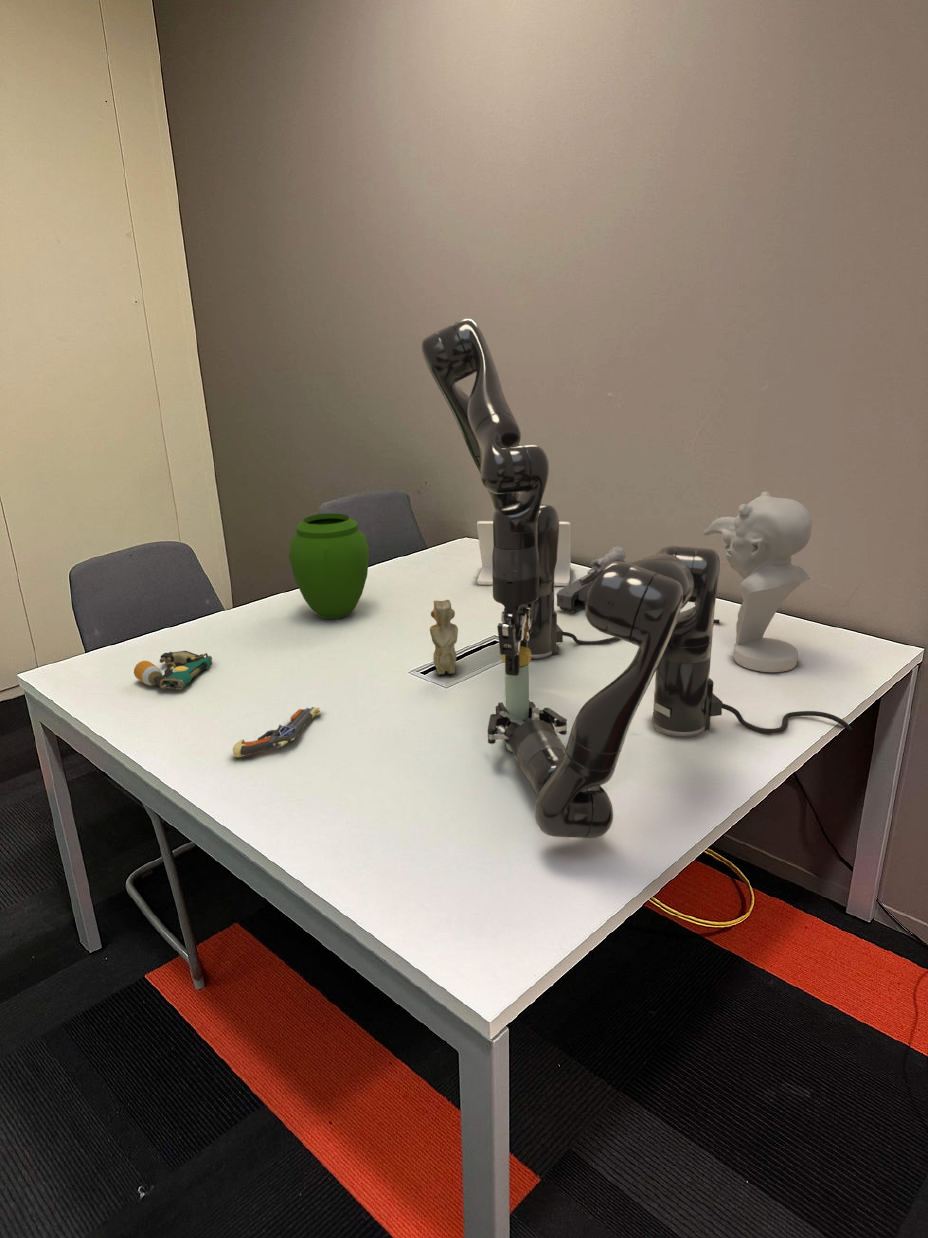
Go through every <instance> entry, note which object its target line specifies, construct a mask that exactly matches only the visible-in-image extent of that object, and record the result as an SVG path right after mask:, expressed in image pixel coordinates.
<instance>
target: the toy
mask: <svg viewBox="0 0 928 1238" xmlns="http://www.w3.org/2000/svg"><path fill="white" fill-rule="evenodd" d="M626 557H627V556H626V551H625V549H624V548H622V547H621V546H614V547H612V548H611V549H610V550H609V552H608V553H607V554H605V555H604V556H601V557H599V558H598V559H597V557H596V558H594V559H593V560H592V561H590V562H589V563H590V564H591V565H592V567H591V568H590V569H589V570H587V573H586V575H584V576H582V577H580V578H578V579H577V580H575V581H573V582H570V583H569V585H567V586H563V587H562V588H560V589H559V590H558V591H557V592H556V607H558V608H559V609H560V610H562V611H566V612H572V613H575V612H577V611H579V610H581V609H582V608H585V601H586V596H587V592H588V590H589V587H590V585H591V583H592V582H593V580H594V578H595V577H596V575H597V574H598V573H599V572H600V571H601V570H602V569H603V568H604V567H605V566H606V565H608V564H609V563H611V562H614V561H620V562H626V561H625V559H626Z"/></svg>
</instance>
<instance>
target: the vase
mask: <svg viewBox="0 0 928 1238" xmlns="http://www.w3.org/2000/svg"><path fill="white" fill-rule="evenodd" d="M358 524H359V523H358V521H356V520H355V519H353V518H352V517H350V516H349V515H347V514H344V513H335V512H334V513H333V512H331V513H320V514H313V515H310V516H307V517H305V518H303V519H302V520H301V521H300V522H299V523H298V524H297V525H296V526H295V532H296V533H295V534H294V536H293V537H292V538H291V540H290V542H289V551H288V559H289V564H290V566H291V567H290V568H291V570H292V575H293V578H294V581H295V584H296V586H297V587H298V589H299V591H300V593H301V596H302V597H303V600H304V601H305V603H306V604H307V605H308V607H309V608H310V609H311V611H312V612H314V613H315V614H316V615H317V616H318V617H320V618H324V619H326V620H327V619H329V620H336V619H341V618H345V617H347V616H349V615H350V614H351V613H352V612H353V611H354V610H355V608H356V607H357V605H358V604H359V601H360V599H361V597H362V595H363V592H364V588H365V586H366V581H367V578H368V570H369V561H370V560H369V559H370V548H369V545H368V541H367V537H366V535H365V534H364V533H363V532H362V531H361V530H360V529H359V527H358Z"/></svg>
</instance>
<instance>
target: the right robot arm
mask: <svg viewBox="0 0 928 1238" xmlns="http://www.w3.org/2000/svg"><path fill="white" fill-rule="evenodd" d="M720 571H721V561H720V555H719V553H718V552H717V551H716V550H715V549H712V548H704V547H692V546H681V545H668V546H664V547H662V548H660V549H659V550H657V552H655V554H653V555H652V554H651V555H649V556H647V557H643V558H642V559H638V560H634V561H630V562H627V561H625V562H620V561H614V562H611V563H609V564H608V565H606V566H605V567H604V568H603V569H602V570H601V571H600V572H599V573H598V574H597V575H596V577H595V578H594V580H593V582H592V583H591V585H590V587H589V590H588V592H587V596H586V601H585V606H584V611H585V617H586V619H587V621H588V623H589V624H590V626H592V627H593V629H596V630H597V631H599V632H600V633H603V634H605V635H608V636H611V637H616V638H619V639H618V640H622V641H625V642H627V643H630V644H631V645H634V646H637V647H638V649H637V651H636V653H635V656H634V657H633V659H632V660H631V662H630V664H629V665H628V666H627V668H625V669H624V671H623V672H622V673H621V674H620V675H619V676H617V677H616V678H615V679H613V680H612V681H611V682H610V683H609V684H608V685H606V686H605V687H603V688H602V689H601V690H599V691H598V692H597V693H595V694H594V695H592V697H590V698H589V699H588V700H587V701H586V702H584V704H583V705H582V707H581V708H580V709H579V711H578V712H577V714H576V716H575V717H574V721H573V723H572V726H571V730H570V732H569V733H570V734H569V737H568V740H567V743H566V747H565V744H564V743H563V741H562V740H561V738H560V736H559V735H562V736H564V735H567V734H568V733H567V732H568V720H567V719H566V718H565V717H564V716H562V715H560V714H559V713H558V712H556V711H554V710H553V709H551V707H543V708H542V709H540V708H539V707H537V705H536V704H535V702H534V701H530V700H529V718H527V719H518V718H517V717H516V716H514V715H513V714H511V715H510V714H508V713H507V710H506V708H505V704H504V703H503V702H498V703H497V705H496V706H495V713H492V714H490V715H489V720H488V726H487V743H488V744H489V745H490V744H491V745H493V744H496V741H502V740H503V741H504V743H505V744H506V743H507V744H509V745H510V747H511V750H512V752H511V753H512V754H513V756H514V758H515V759H516V761H517V764H518V766H519V768H520V769H521V771H522V772H523V774H524V776H525V777H526V778H527V779H528V782H529V783H530V785H531V786H532V789H533V790H534V792H535V793H536V795H537V798H536V800H535V801H536V802H535V806H534V817H535V822H536V825H537V827H538V828H539V830H540V831H541V832H542V833H543V834H545V835H546V836H550V837H554V838H555V837H556V838H577V839H598V838H601V837H603V836H604V835H606V834H607V833H608V831H609V830H610V829H611V827H612V824H613V820H614V808H613V803H612V801H611V799H610V797H609V794H608V793H607V792H606V790H605V789H604V787H602V785H605V784H607V783H608V782H609V781H610V780H611V779H612V778H613V775H614V772H615V771H616V767H617V764H618V762H619V758H620V755H621V752H622V749H623V746H624V743H625V740H626V737H627V733H628V731H629V729H630V726H631V724H632V721H633V719H634V717H635V715H636V712H637V711H638V708H639V707H640V704H641V702H642V700H643V699H644V696H645V695H646V692H647V690H648V688H649V686H650V684H651V682H652V680H653V678H654V693H653V694H654V695H653V710H652V711H653V712H652V718H651V719H652V720H651V725H652V727H653V728H654V730H656V731H657V732H658V733H660V734H663V735H665V736H670V737H673V738H693V737H696V736H699V735H702V734H703V733H704V732H705V731H710V729H711V719H712V717H719V716H722V711H723V710H726V711H728V712H730V713H732V714H733V715H734V716H735V717H736V719H737V720H738V722H739V723H740V725H742V726H743V727H745V728H747V729H748V730H750V731H753V732H756V733H761V734H767V735H769V734H771V735H772V734H781V733H783V732H784V731H786V730H787V728H788V723H789V722H788V721H789V719H790V718H795V717H820V718H825V719H829V720H831V721H834V722H836V723H837V724H839V725H840V726H841V727H843V728H845V729H846V730H847V731H853V728H852V726H851V725H850V724H849V723H848V722H846V721H845V720H843V719H842V718H840V717H839V716H837V715H835V714H831V713H829V712H823V711H816V710H799V711H790V712H787V713H786V714H785V715H784V716H782V721H781V726H779V727H775V728H764V727H759V726H756V725H753V724H751V723H749V722H748V721H746V720H745V718H743V716H742V714H741V712H740V711H739V710H738V709H736V708H734V707H733V706H731V705H729V704H726V703H723V701H722V699H720V698H719V697H718V696H717V695H715V693H714V685H715V683H714V681H713V679H712V678H710V675H711V674H710V672H711V671H710V670H711V661H712V647H713V636H714V635H713V633H714V623H713V622H714V619H715V609H716V601H717V600H716V599H717V593H718V587H719V582H720V581H719V580H720ZM688 603H694V606H692V607H691V608H689V609H686V610H683V611H681V610H682V609H684V607H686V605H687V604H688ZM499 727H501V728H502V729H503V730H504V731H502V730H501V729H500V728H499ZM558 734H559V735H558Z"/></svg>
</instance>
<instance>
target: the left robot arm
mask: <svg viewBox="0 0 928 1238" xmlns="http://www.w3.org/2000/svg"><path fill="white" fill-rule="evenodd" d="M420 349H421V354H422V357H423V360H424V362H425V364H426V367H427V369H428V371H429V373H430V374H431V377H432V378H433V381H434V382H435V384H436V385H437V387H438V389H439V391H440V393H441V394H442V396H443V398H444V400H445V402H446V404H447V405H448V408H449V409H450V412H451V413H452V415H453V417H454V420H455V421H456V423H457V426H458V428H459V431H460V433H461V435H462V437H463V440H464V442H465V445H466V447H467V449H468V451H469V454H470V456H471V458H472V461H473V462H474V464H475V466H476V468H477V471H478V472H479V473H480V479H481V482H482V485H483V486H484V487H485V488H486V490H487V492H488V494H489V496H490V498H491V499H490V500H491V502H492V505H493V507H494V512H493V515H492V521H493V554H492V578H493V585H492V598H493V600H494V601H495V602H497V603H498V604H500V605H502V606H503V607H504V608H503V611H502V612H501V619H500V621H501V622H499V623H498V624H497V627H496V628H497V635H498V646H499V654H500V655H501V656H502V655H505V663H504V670H505V669H506V674H507V675H513V676H517V675H518V674H519V672H520V669H519V653H520V646H523V647H527V648H529V649H530V650H531V660H540V659H545V658H548V657H550V656H552V655H557V654H558V653H557V650H558V649H557V648H558V647H557V645H558V644H559V643H563V642H564V637H569V638H571V639H572V640H573V642H574V643H575V644H577V645H582V646H583V645H584V646H585V645H588V646H589V645H591V646H593V645H602V644H607V643H612V642H615V641H619V640H620V639H619V638H616V637H614V636H611V637H608V638H605V639H604V638H603V639H600V640H599V639H598V640H591V641H589V640H586V641H585V640H581V639H578V637H577V636H576V635H575V634H573V633H571V632H569V631H564V630H563V629H562V628H561V627H560V626H559V625H558V613H557V612H556V611H555V586H554V572H555V567H556V563H557V556H558V539H559V522H560V520H559V518H560V517H559V514H558V511H557V509H556V508H555V507H554V506H553V505H551V504H547V503H542V502H543V497H544V494H545V490H546V487H547V483H548V478H549V476H550V461H549V458H548V455H547V453H546V452H545V450H544V449H543V448H542V447H540V446H539V445H537V444H523V445H522V444H521V445H520V442H521V439H522V433H521V429H520V426H519V424H518V422H517V419H516V418H515V416H514V414H513V411H512V410H511V408H510V406H509V404H508V402H507V398H506V397H505V393H504V390H503V387H502V383H501V380H500V375H499V373H498V370H497V367H496V363H495V361H494V359H493V355H492V352H491V350H490V347H489V344H488V342H487V340H486V337H485V336H484V333H483V332H482V330H481V328H480V327H479V325H478V324H477V323H476V321H475V320H473V319H472V318H462V319H460V320H458V321H455V322H454V323H451V324H449V325H447V326H445V327H443V328H442V329H439V330H437V331H435V332H433V333H431V334H429V335H428V336H426V337H424V338H423V340H422V341H421V344H420ZM473 375H475V380H474V383H473V386H472V389H471V392H470V395H468V394H467V393H466V392H465V390H463V389H462V388H461V387H460V386H459V384H458V382H461V381H463V380H465V379H467V378H469V377H471V376H473ZM713 624H720V619H715V618H714V622H713ZM510 646H511V647H510Z"/></svg>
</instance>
